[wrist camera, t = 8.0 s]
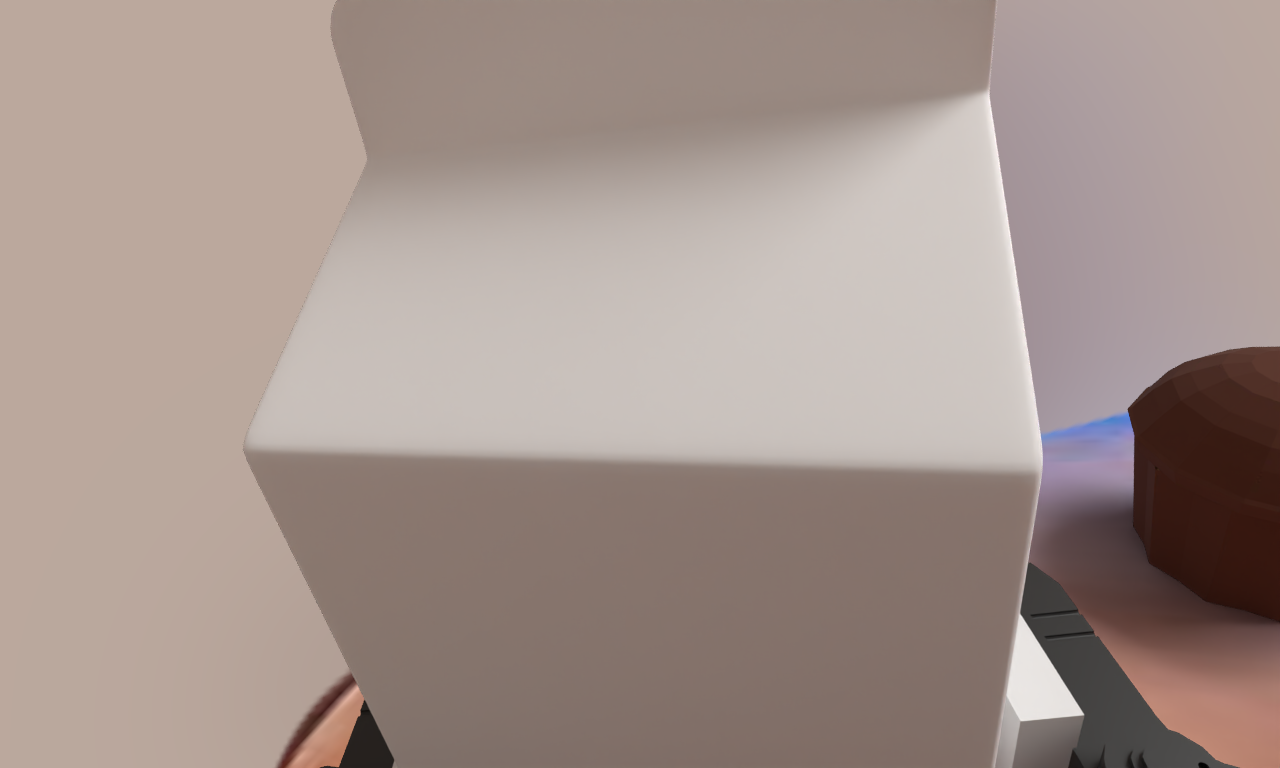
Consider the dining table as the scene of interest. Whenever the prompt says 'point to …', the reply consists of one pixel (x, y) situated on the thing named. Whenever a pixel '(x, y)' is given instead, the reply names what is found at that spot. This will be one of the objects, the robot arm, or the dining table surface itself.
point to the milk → (666, 386)
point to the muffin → (1213, 477)
